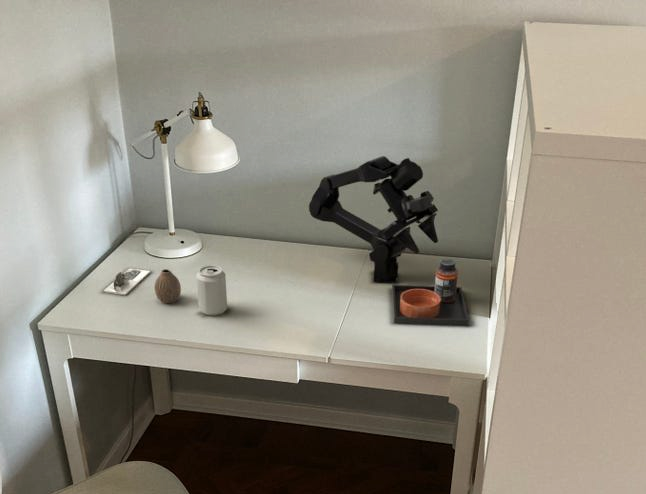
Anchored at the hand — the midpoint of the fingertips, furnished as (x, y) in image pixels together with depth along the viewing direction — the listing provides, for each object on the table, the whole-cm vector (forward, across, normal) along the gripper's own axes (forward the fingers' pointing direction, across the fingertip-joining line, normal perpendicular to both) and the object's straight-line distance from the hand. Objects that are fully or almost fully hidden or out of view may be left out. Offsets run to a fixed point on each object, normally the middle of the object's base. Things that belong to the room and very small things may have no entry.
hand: (427, 247), depth 215 cm
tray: (+14, -7, +5) cm, 16 cm away
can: (-16, -46, +36) cm, 60 cm away
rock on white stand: (-38, -50, +57) cm, 85 cm away
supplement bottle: (+14, 0, +5) cm, 15 cm away
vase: (-26, -50, +45) cm, 72 cm away
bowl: (+13, -10, +6) cm, 18 cm away
